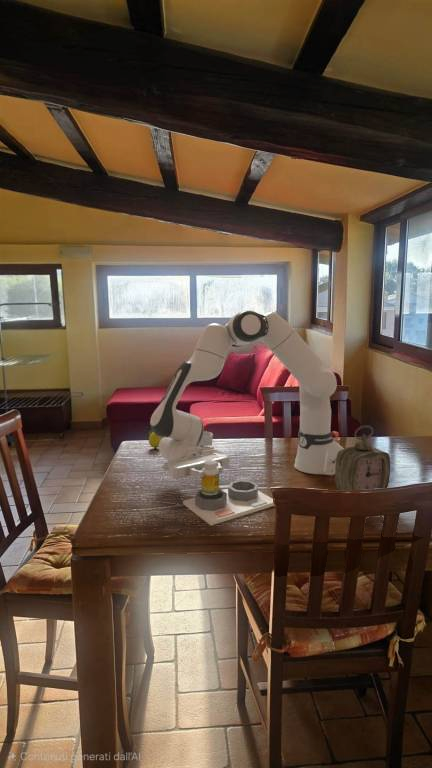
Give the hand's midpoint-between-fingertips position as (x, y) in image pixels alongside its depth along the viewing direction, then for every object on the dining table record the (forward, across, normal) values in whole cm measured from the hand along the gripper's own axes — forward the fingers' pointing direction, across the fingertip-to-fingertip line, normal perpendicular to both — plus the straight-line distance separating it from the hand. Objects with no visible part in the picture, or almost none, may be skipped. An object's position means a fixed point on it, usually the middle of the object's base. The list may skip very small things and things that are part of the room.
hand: (211, 472), depth 139 cm
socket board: (+1, +6, +11) cm, 13 cm away
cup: (-46, +25, +12) cm, 54 cm away
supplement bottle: (-1, 0, +7) cm, 7 cm away
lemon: (-60, +10, +12) cm, 62 cm away
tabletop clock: (+22, +40, +11) cm, 47 cm away
